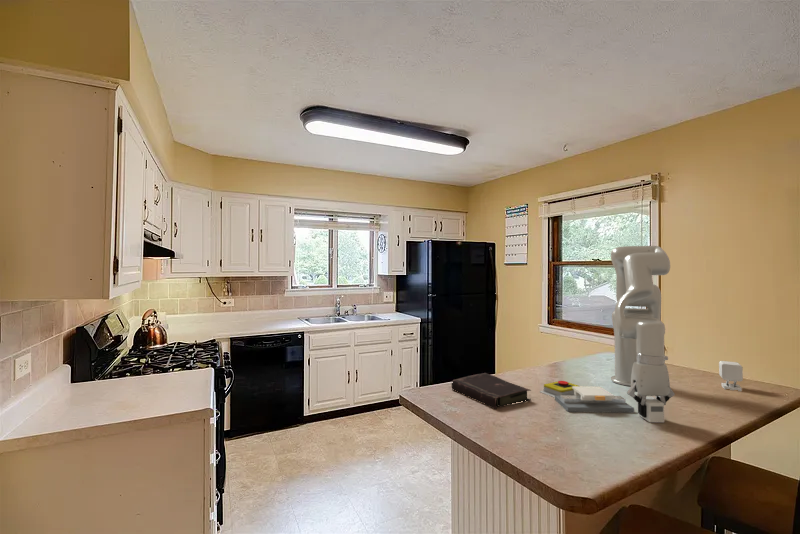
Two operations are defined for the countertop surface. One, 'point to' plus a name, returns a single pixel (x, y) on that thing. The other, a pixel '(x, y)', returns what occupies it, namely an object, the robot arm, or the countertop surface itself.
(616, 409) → the rail mount
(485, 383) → the diary
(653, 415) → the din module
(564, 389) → the emergency button
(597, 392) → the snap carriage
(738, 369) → the security camera
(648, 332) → the robot arm
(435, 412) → the countertop surface
